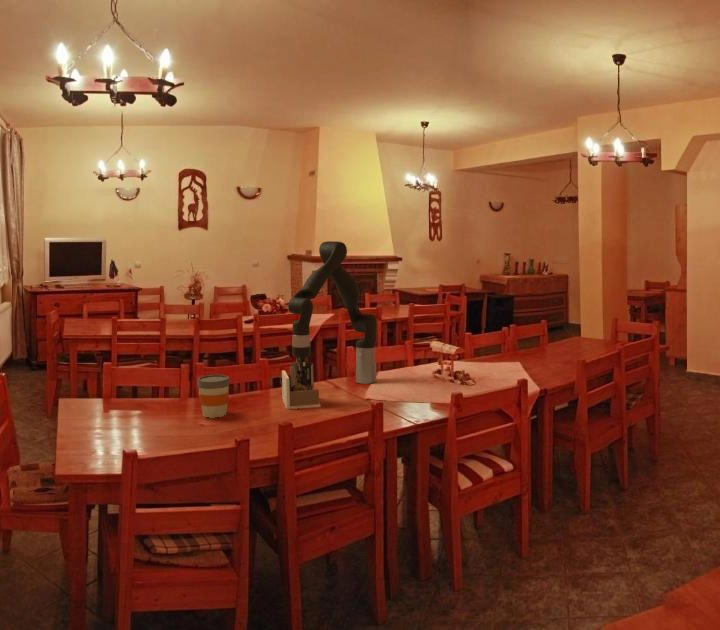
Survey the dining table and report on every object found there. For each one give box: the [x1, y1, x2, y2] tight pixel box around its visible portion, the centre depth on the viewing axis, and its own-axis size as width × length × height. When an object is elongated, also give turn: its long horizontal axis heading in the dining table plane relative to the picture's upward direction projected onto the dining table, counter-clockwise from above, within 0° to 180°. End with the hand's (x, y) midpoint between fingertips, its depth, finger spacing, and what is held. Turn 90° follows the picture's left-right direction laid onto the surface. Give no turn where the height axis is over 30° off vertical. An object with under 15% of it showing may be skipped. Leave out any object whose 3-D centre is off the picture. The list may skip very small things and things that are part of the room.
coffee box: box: [289, 361, 315, 391], centre depth 269 cm, size 9×6×16 cm
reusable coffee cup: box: [196, 374, 231, 419], centre depth 253 cm, size 13×13×15 cm
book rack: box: [281, 370, 321, 410], centre depth 270 cm, size 14×15×13 cm
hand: (302, 382), depth 270 cm, fingers open, 8 cm apart
